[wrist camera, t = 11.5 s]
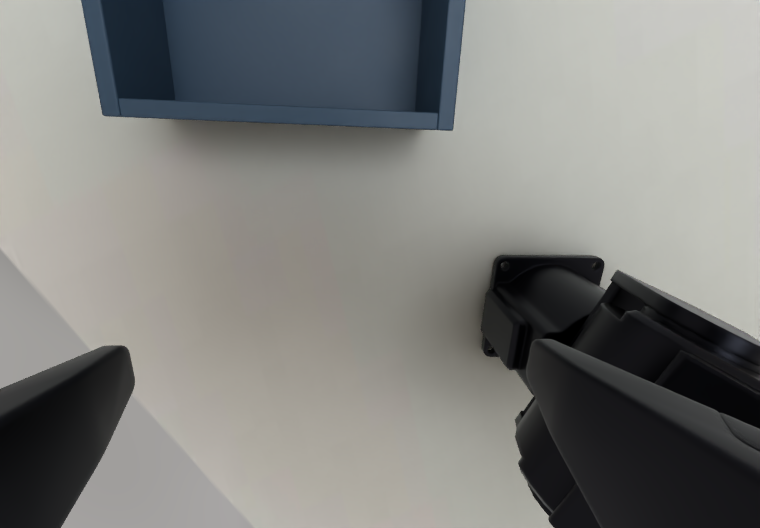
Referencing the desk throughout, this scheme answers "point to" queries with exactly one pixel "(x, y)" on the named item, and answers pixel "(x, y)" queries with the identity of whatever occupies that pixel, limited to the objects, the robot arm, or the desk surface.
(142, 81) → the bin
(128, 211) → the desk surface
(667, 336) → the robot arm
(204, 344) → the desk surface
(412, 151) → the desk surface
